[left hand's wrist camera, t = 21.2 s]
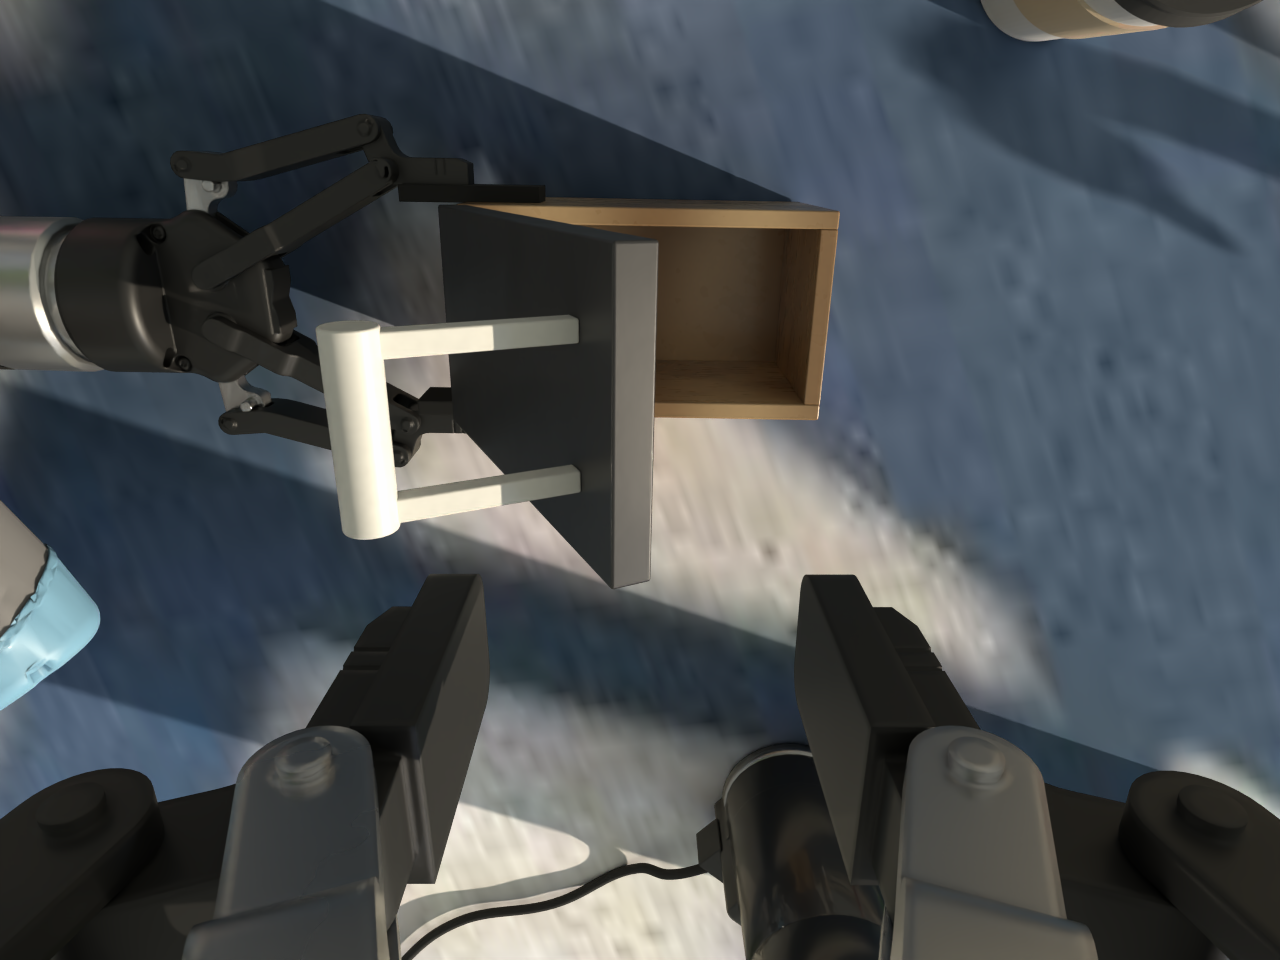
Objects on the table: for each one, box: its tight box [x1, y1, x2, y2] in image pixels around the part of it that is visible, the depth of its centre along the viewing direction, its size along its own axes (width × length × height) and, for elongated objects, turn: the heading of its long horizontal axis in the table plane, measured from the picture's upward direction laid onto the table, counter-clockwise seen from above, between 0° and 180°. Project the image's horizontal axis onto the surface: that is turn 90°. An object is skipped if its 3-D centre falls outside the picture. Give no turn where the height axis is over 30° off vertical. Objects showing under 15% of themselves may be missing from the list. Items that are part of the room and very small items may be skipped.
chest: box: [457, 197, 840, 420], centre depth 41 cm, size 17×10×10 cm, turn 89°
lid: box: [316, 205, 659, 589], centre depth 27 cm, size 18×10×8 cm
